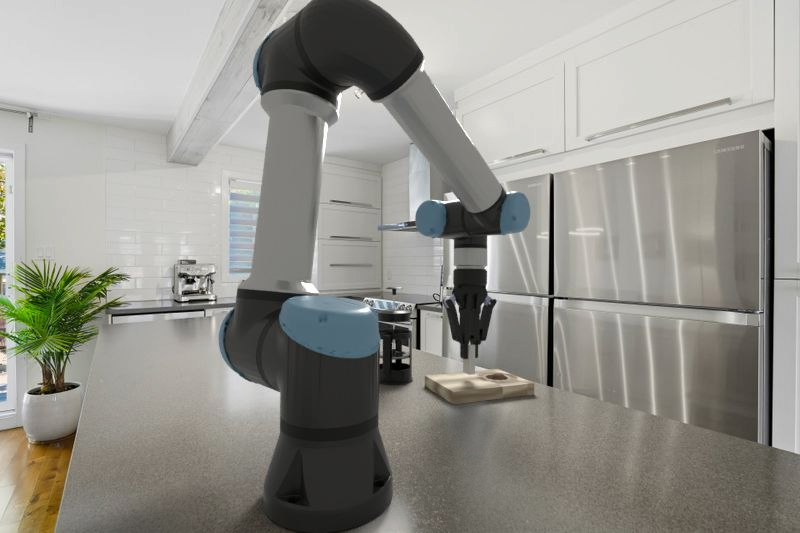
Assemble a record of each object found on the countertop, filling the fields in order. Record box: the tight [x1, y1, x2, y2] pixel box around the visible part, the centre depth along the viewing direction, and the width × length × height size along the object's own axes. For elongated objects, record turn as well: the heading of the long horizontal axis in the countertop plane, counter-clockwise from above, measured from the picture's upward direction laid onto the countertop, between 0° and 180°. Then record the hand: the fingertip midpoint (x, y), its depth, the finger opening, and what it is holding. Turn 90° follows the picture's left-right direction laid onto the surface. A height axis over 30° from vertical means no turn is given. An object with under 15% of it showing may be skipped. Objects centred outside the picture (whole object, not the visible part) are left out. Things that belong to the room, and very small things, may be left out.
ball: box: [491, 373, 506, 380], centre depth 96 cm, size 4×4×4 cm
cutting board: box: [424, 368, 535, 405], centre depth 94 cm, size 14×20×2 cm
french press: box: [375, 286, 414, 386], centre depth 102 cm, size 12×9×23 cm
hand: (468, 373), depth 92 cm, fingers closed
